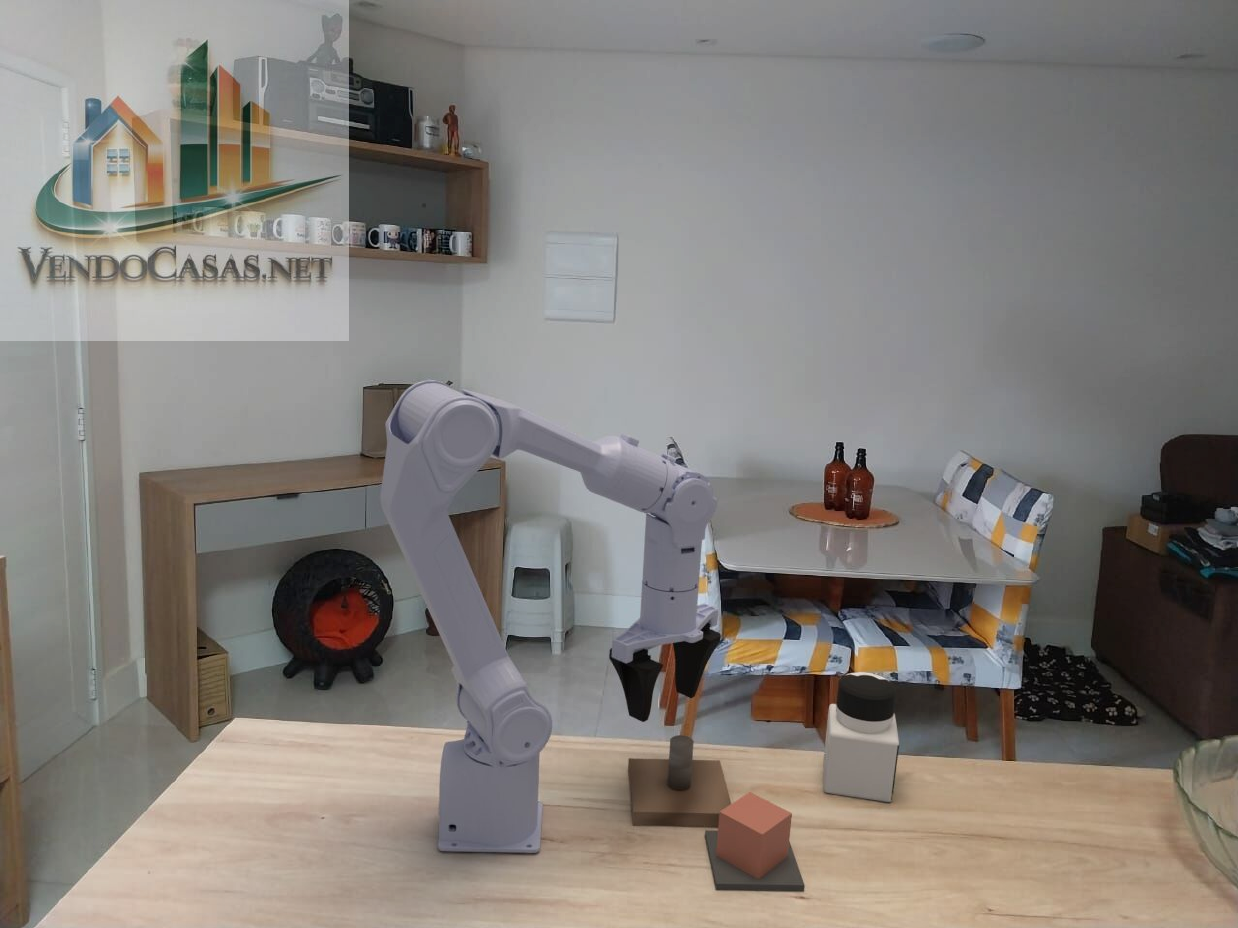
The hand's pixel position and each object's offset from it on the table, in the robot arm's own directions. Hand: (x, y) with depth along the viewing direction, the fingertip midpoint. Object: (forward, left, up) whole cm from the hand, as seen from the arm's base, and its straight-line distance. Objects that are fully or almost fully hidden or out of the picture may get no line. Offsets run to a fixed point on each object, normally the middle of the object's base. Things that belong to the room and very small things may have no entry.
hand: (662, 705), depth 101 cm
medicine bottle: (+22, +2, -10) cm, 24 cm away
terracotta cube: (+8, -12, -9) cm, 17 cm away
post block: (+2, -2, -9) cm, 10 cm away
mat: (+8, -13, -9) cm, 18 cm away
